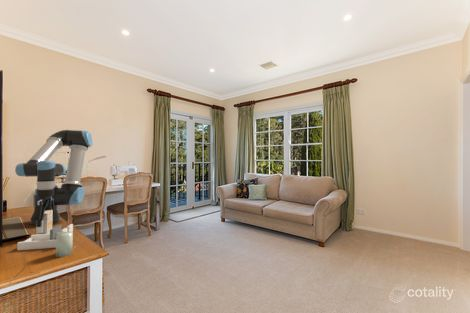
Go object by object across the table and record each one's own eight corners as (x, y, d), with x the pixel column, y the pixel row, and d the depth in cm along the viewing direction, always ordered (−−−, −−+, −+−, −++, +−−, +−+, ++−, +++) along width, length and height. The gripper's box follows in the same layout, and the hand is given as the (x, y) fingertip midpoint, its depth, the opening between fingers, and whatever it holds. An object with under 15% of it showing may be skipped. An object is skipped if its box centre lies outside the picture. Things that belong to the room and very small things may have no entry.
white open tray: (31, 241, 114) (32, 225, 114) (72, 238, 119) (73, 223, 119) (17, 250, 104) (17, 232, 104) (62, 247, 108) (63, 230, 108)
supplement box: (41, 233, 126) (42, 210, 127) (52, 232, 128) (53, 209, 128) (35, 238, 119) (36, 213, 119) (47, 237, 121) (47, 212, 121)
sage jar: (59, 251, 103) (60, 232, 103) (74, 250, 105) (75, 231, 105) (52, 257, 98) (53, 236, 98) (68, 256, 99) (69, 235, 99)
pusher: (58, 238, 116) (58, 224, 116) (71, 237, 118) (71, 224, 118) (49, 244, 108) (49, 230, 108) (64, 243, 110) (64, 229, 110)
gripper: (48, 186, 133) (47, 224, 133) (25, 191, 112) (23, 237, 112) (62, 186, 135) (61, 223, 135) (42, 191, 114) (41, 236, 114)
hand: (44, 229), depth 124 cm, fingers closed on supplement box, 9 cm apart
